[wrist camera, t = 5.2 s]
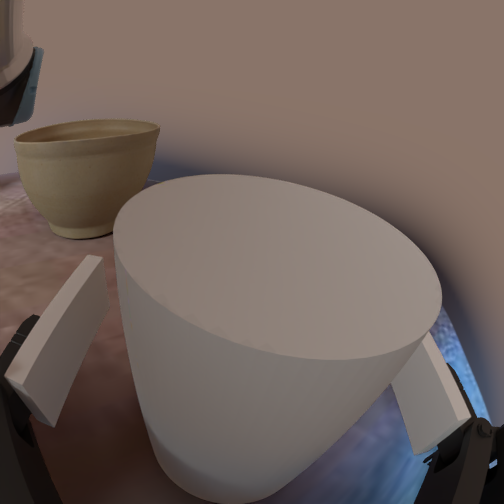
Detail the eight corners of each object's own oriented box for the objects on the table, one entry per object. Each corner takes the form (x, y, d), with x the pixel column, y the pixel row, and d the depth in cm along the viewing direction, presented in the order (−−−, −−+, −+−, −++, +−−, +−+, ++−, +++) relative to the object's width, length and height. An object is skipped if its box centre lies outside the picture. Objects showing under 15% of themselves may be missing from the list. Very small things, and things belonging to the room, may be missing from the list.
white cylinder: (265, 364, 18) (321, 180, 12) (329, 469, 12) (485, 298, 6) (137, 388, 14) (115, 174, 8) (179, 521, 8) (135, 431, 2)
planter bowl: (122, 188, 39) (126, 115, 34) (180, 234, 31) (190, 131, 25) (19, 211, 28) (13, 129, 23) (33, 277, 20) (14, 151, 14)
